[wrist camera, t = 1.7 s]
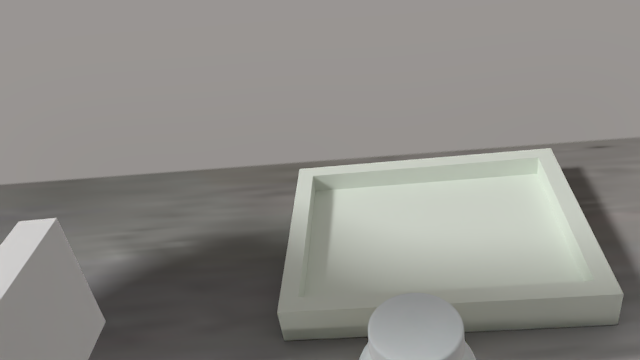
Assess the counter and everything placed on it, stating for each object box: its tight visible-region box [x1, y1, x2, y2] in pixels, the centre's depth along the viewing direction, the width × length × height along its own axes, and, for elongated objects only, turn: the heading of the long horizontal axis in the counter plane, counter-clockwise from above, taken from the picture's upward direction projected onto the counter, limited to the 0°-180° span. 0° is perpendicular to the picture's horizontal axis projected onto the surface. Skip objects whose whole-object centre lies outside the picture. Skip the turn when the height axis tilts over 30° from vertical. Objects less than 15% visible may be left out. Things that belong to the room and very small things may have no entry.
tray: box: [277, 148, 624, 341], centre depth 43 cm, size 20×16×2 cm
